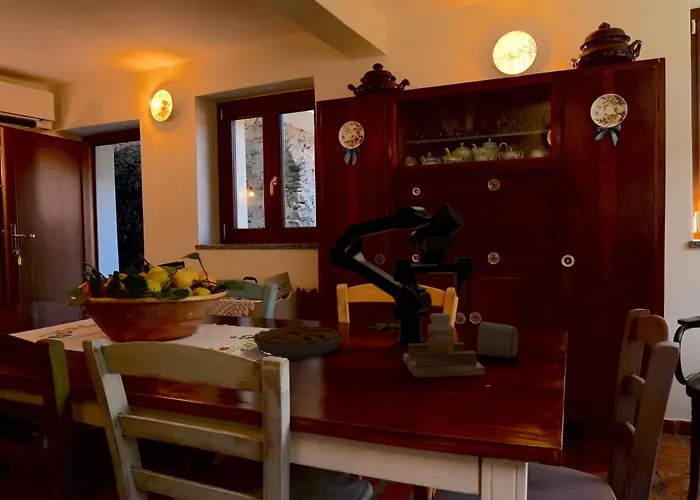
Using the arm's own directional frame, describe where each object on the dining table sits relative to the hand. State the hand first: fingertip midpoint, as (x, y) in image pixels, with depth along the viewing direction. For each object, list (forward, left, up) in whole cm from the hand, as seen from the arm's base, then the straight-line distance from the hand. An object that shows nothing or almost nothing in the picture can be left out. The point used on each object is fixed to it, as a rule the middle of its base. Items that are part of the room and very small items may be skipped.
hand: (438, 297), depth 117 cm
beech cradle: (+10, -2, -14) cm, 17 cm away
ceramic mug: (0, +14, -14) cm, 19 cm away
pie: (-12, -33, -14) cm, 38 cm away
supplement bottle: (+9, -2, -12) cm, 16 cm away
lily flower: (-38, -7, -14) cm, 41 cm away
